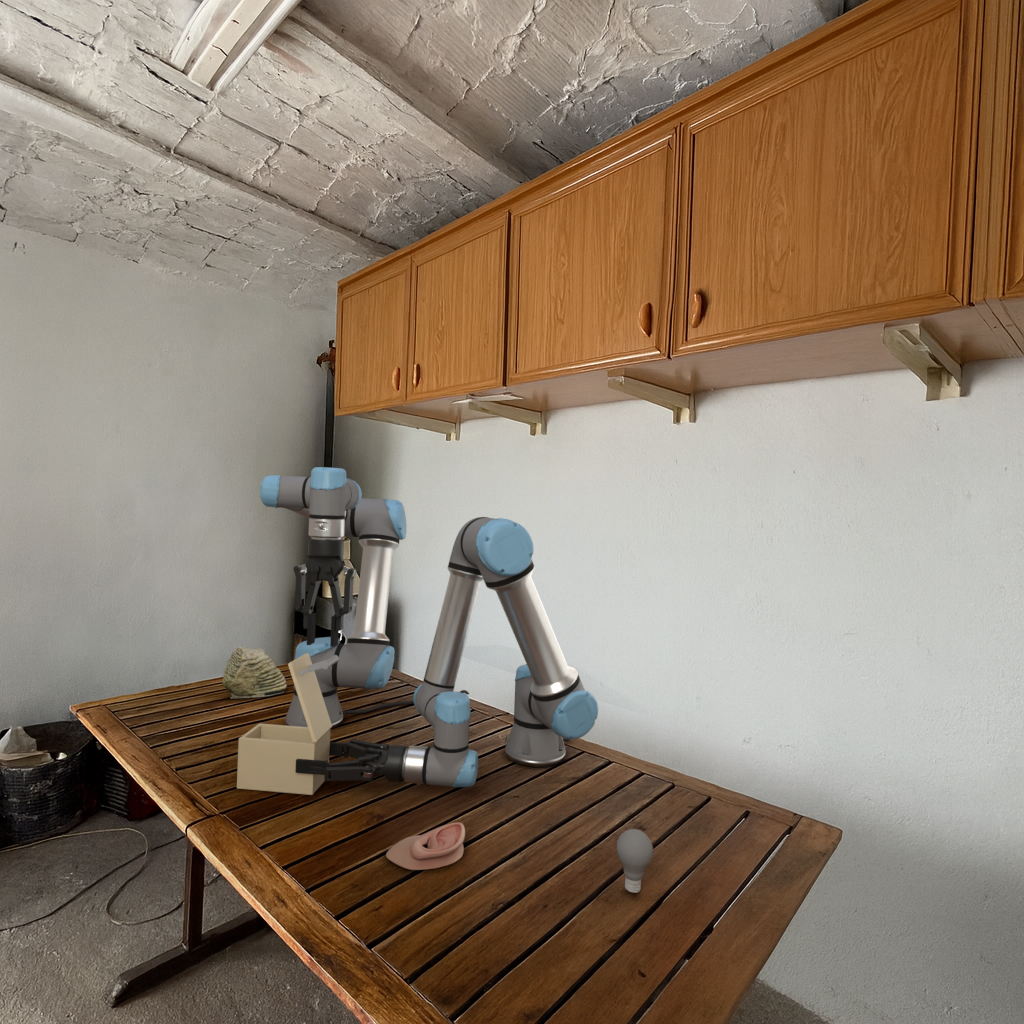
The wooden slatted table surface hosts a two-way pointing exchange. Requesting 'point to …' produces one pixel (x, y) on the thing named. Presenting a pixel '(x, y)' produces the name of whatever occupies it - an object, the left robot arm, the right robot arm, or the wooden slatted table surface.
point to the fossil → (252, 674)
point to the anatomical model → (430, 848)
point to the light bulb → (634, 857)
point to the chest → (279, 759)
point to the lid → (311, 693)
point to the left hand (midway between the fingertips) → (322, 644)
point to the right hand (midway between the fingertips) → (305, 756)
